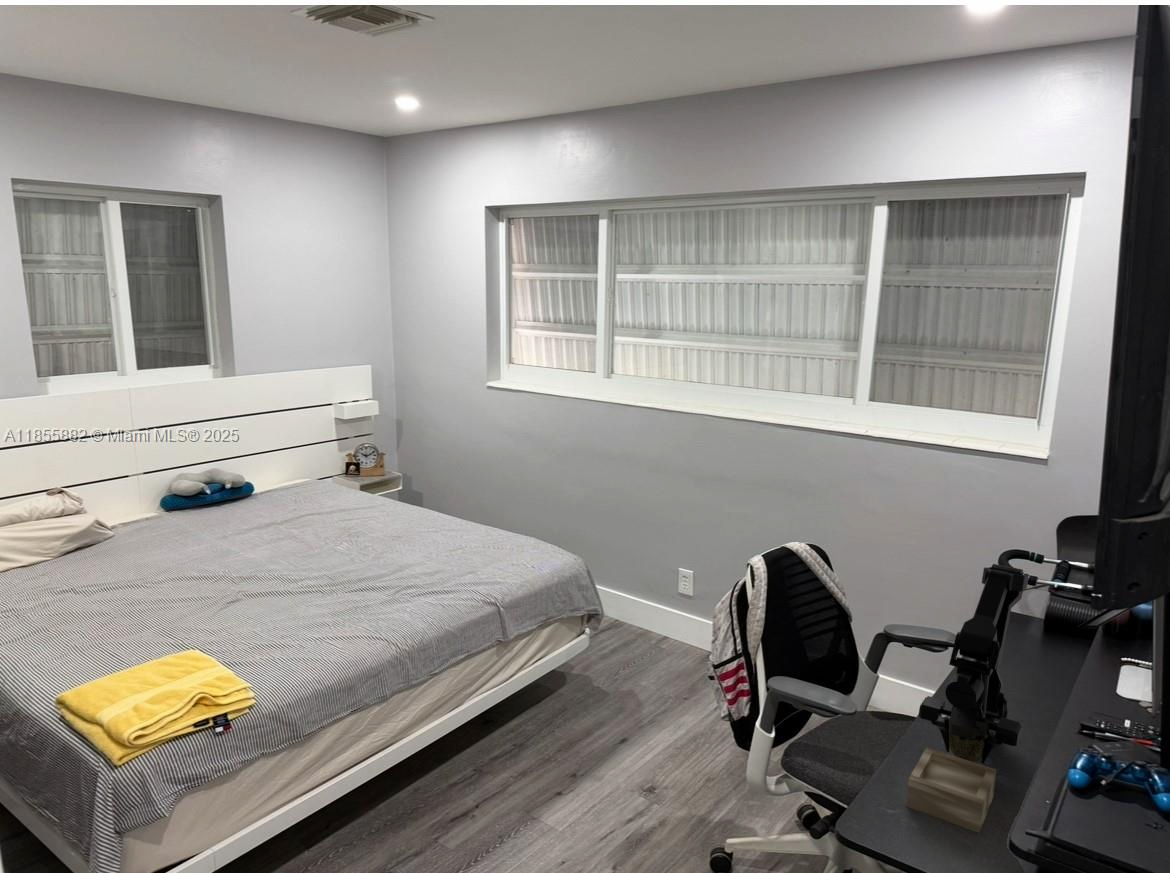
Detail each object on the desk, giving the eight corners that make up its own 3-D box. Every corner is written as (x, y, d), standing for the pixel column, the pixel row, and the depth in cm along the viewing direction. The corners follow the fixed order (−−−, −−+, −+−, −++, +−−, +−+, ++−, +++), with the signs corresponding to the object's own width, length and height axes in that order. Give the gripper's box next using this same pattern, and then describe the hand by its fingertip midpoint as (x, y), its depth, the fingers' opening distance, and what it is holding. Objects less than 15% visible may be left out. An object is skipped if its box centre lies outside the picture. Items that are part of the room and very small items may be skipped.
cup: (989, 763, 171) (993, 729, 169) (977, 779, 165) (981, 743, 164) (953, 749, 176) (956, 715, 174) (940, 764, 170) (943, 729, 169)
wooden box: (924, 773, 167) (926, 747, 166) (993, 797, 160) (996, 769, 158) (906, 806, 157) (908, 778, 156) (979, 833, 149) (982, 804, 148)
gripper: (914, 691, 166) (908, 759, 169) (1015, 720, 155) (1007, 792, 158) (928, 670, 175) (922, 735, 178) (1025, 696, 164) (1017, 765, 167)
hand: (965, 756), depth 170 cm, fingers closed on cup, 6 cm apart
